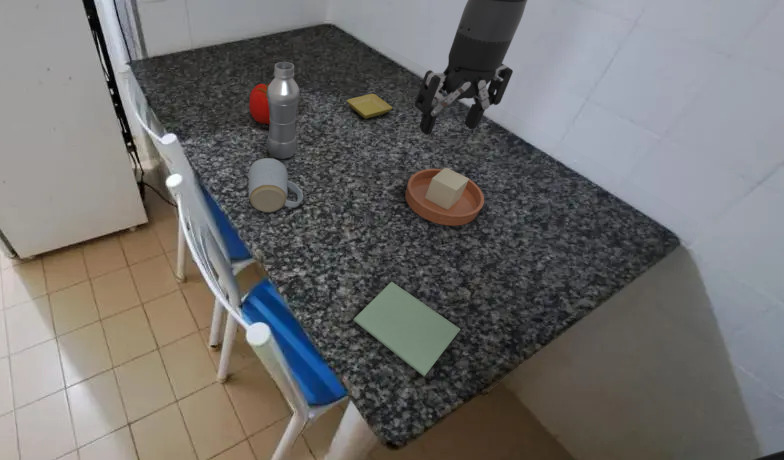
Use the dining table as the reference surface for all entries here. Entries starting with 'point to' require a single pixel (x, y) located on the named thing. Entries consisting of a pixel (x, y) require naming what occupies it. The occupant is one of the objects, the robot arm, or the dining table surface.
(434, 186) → the block
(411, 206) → the terracotta dish
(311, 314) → the dining table surface
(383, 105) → the saucer
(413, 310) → the mat
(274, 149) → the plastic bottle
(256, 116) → the tomato
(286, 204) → the ceramic mug
